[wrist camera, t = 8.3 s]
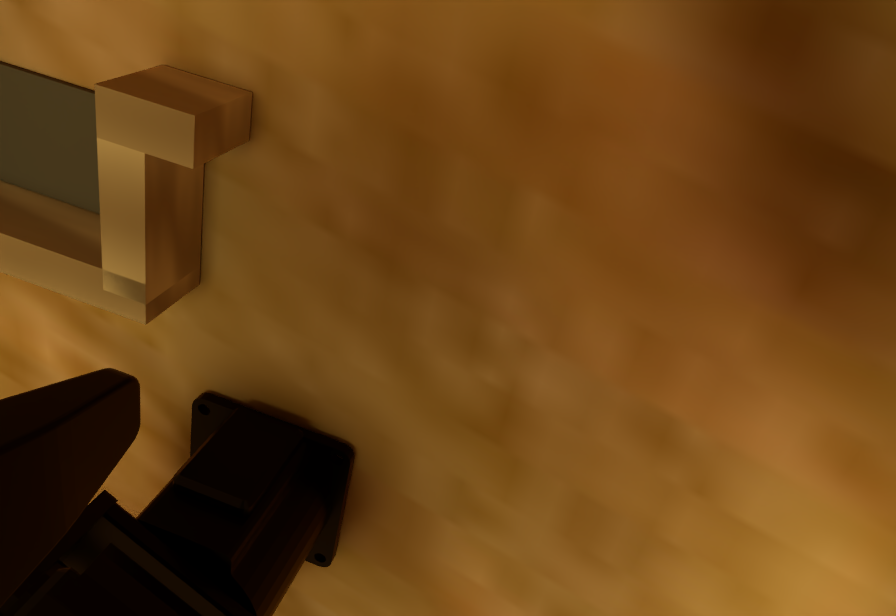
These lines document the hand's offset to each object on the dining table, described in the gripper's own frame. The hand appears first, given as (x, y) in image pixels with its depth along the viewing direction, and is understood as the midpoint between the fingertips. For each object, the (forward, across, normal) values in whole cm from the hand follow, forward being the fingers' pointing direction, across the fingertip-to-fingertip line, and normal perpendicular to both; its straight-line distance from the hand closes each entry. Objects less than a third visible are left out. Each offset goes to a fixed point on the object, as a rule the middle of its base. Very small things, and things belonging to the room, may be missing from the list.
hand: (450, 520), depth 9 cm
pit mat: (+13, +16, +4) cm, 21 cm away
